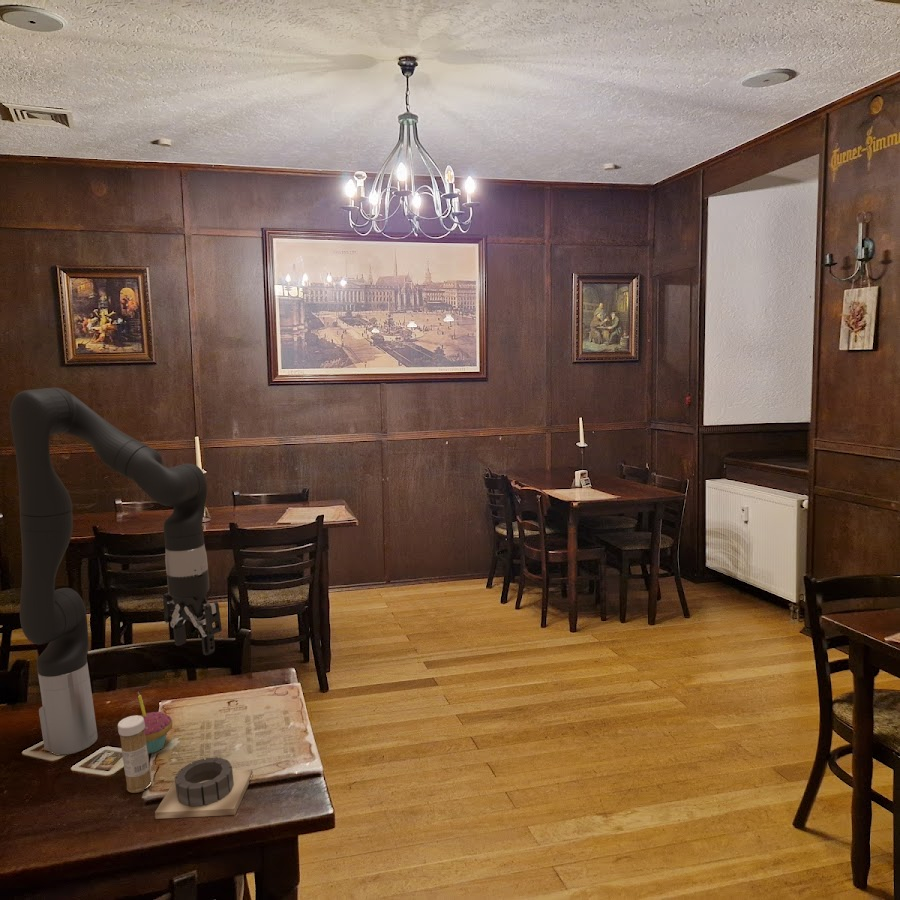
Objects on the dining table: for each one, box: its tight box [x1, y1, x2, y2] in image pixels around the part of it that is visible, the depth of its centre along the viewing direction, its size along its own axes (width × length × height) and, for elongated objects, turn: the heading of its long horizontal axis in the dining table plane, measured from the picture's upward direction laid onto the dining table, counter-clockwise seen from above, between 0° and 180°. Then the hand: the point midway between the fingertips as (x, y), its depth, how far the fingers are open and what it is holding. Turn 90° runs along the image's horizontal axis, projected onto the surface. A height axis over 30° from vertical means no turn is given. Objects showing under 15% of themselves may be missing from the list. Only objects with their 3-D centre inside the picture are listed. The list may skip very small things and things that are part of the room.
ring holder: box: [154, 756, 254, 820], centre depth 138 cm, size 14×12×5 cm
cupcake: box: [137, 691, 174, 755], centre depth 155 cm, size 9×8×12 cm
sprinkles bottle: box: [117, 715, 152, 794], centre depth 141 cm, size 5×5×14 cm
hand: (194, 648), depth 147 cm, fingers open, 8 cm apart
